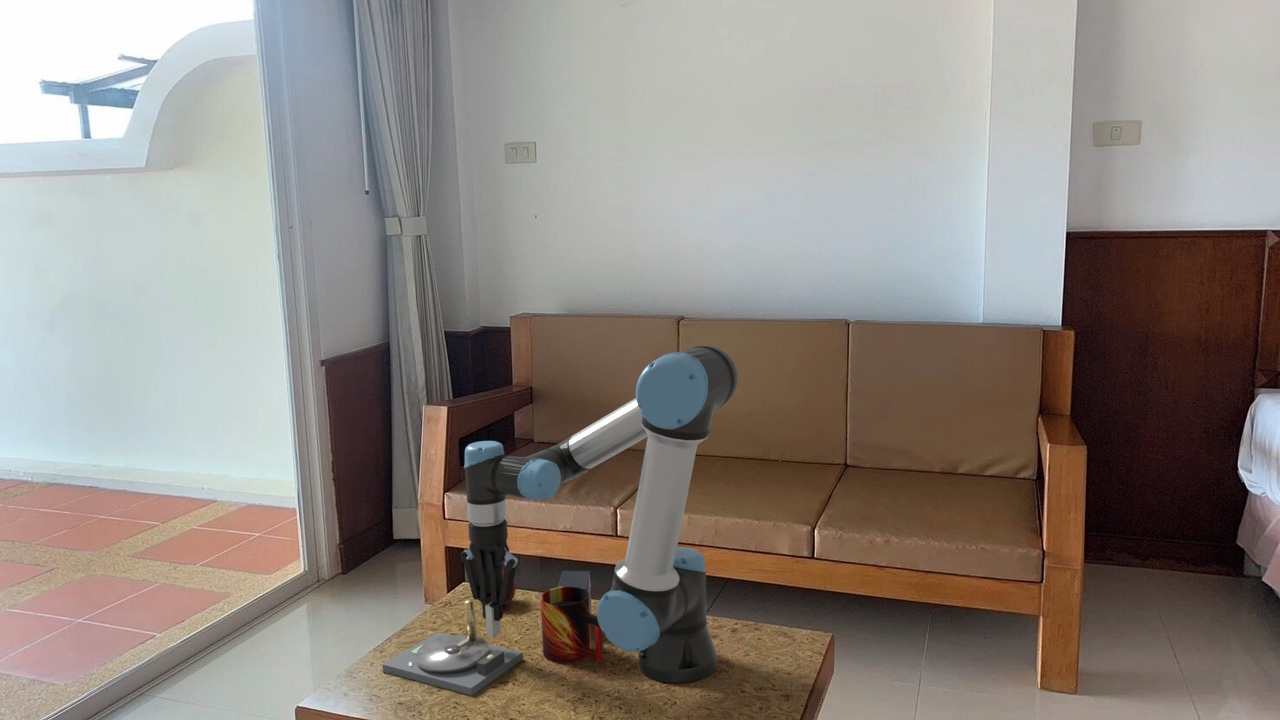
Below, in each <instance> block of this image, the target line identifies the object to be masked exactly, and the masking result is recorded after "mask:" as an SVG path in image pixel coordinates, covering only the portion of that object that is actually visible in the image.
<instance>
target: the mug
mask: <svg viewBox="0 0 1280 720" xmlns="http://www.w3.org/2000/svg"><path fill="white" fill-rule="evenodd" d="M540 613H541V633H542V653H543V654H542V655H543V657H544V658H545V660H547V661H549V662H551V663H557V664H571V663H572V664H573V663H577V662H580V661H583V660H585V659H587V658H589V659H592V660H594V661H596V662H598V663H600V662H603V661H604V651H603V650H604V649H603V646H604V645H603V635H602V634H603V633H602V632H603V631H602V630H601V628H600V626H599V623H598V619H597V615H595V614H592V613H591V614H590V612H589V593H588V592H587V591H586V590H584V589H582V588H578V587H558V586H557V587H554V588H551V589H547V590H546V591H544V592H542V593H541V595H540ZM591 625H592V626H594V643H595V644H594V646H595V647H594V648H595V649H594V648H592V645H591V644H592V642H591Z"/></svg>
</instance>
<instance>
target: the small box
mask: <svg viewBox="0 0 1280 720" xmlns="http://www.w3.org/2000/svg"><path fill="white" fill-rule="evenodd" d="M590 573H591V571H589V570H583V571H582V570H579V571H578V570H574V571H573V570H563V571H562V573H561V576H560V579H559V583H558V586H557V588H558V587H578V588H582V589H584V590H586V591H587V592H588V593H589V612H590V614H592V594H591V593H592V592H591V591H592V590H591V574H590Z"/></svg>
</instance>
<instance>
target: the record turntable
mask: <svg viewBox="0 0 1280 720" xmlns="http://www.w3.org/2000/svg"><path fill="white" fill-rule="evenodd" d="M450 635H451V634H447V633H442V632H438V631H437V632H435V633H434V634H432V635H430V636H429V637H427V638H425V639H423V640H422V641H420V642H418V643H417V644H415V645H413V646H412V647H409V649H406V650H405V651H402V652H401V653H399V654H398V655H396V656H394V657H393V658H391V659H389V660H388V661H386V662H384V663H382V672H383V673H387V674H391V675H393V676H397V677H400V678H401V677H402V678H405V679H409V680H413V681H415V682H420V683H424V684H427V685H430V686H434V687H438V688H442V689H444V690H449V691H452V692H456V693H460V694H462V695H463V694H464V695H467V696H471V697H472V696H474V695H475V694H477V693H478V692H479V691H480V690H482V689H484V688H485V687H486V686H487V685H490V683H492V682H493V681H495V680H496V679H498V678H499V677H500V676H501V675H503V674H505V673H506V672H507V671H508V670H511V668H513V667H514V666H515V665H518V664H519V663H520V662H521V661H523V660H524V657H523V656H524V654H523V651H520V650H519V651H518V650H514V649H509V648H505V647H502V646H498V645H493V644H489V643H488V646H489V655H488V656H486V657H485V658H483V659H482V660H480V661H479V662H477V666H475V667H472V668H469V669H466V670H463V671H458V672H450V673H436V672H430V671H427V670H424V669H422V668H421V667H419V666H418V664H417V660H416V653H417V651H418V649H419V648H420V647H421V646H423V645H424V644H426V643H427V642H429V641H432V640H434V639H437V638H440V637H445V636H450Z"/></svg>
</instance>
